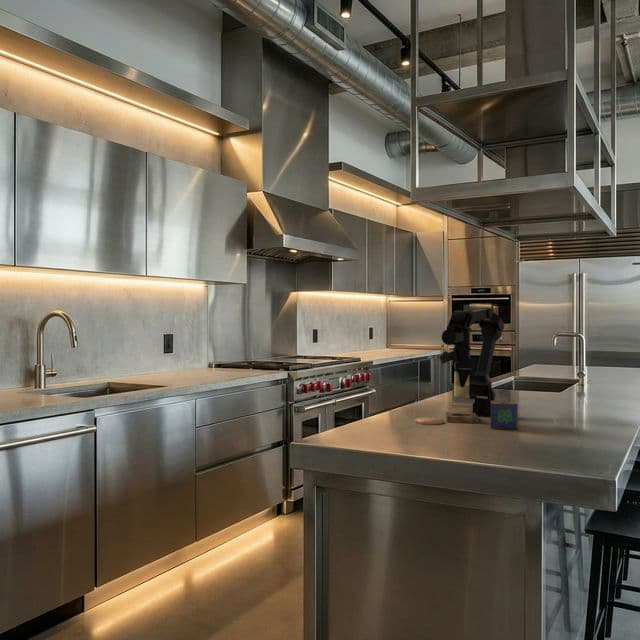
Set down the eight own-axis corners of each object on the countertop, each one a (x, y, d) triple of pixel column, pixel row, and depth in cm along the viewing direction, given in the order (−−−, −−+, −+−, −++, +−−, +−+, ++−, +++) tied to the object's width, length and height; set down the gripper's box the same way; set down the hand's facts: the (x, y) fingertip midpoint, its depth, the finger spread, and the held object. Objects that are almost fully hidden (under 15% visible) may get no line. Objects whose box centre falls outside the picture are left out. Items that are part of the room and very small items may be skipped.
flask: (516, 428, 214) (516, 397, 214) (519, 430, 211) (519, 398, 211) (489, 428, 215) (489, 397, 215) (491, 429, 212) (491, 398, 212)
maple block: (467, 395, 232) (468, 371, 232) (468, 396, 228) (469, 372, 228) (454, 395, 233) (454, 371, 233) (455, 396, 229) (455, 372, 229)
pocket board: (475, 418, 235) (475, 413, 235) (478, 423, 224) (478, 417, 224) (445, 417, 237) (445, 412, 237) (447, 422, 226) (447, 416, 226)
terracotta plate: (442, 420, 230) (442, 417, 230) (444, 425, 220) (444, 422, 220) (415, 419, 231) (415, 417, 231) (415, 424, 221) (415, 421, 221)
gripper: (438, 343, 241) (438, 383, 241) (441, 345, 223) (440, 388, 223) (468, 343, 239) (467, 384, 239) (473, 345, 221) (472, 389, 221)
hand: (461, 386), depth 231 cm, fingers closed on maple block, 4 cm apart
